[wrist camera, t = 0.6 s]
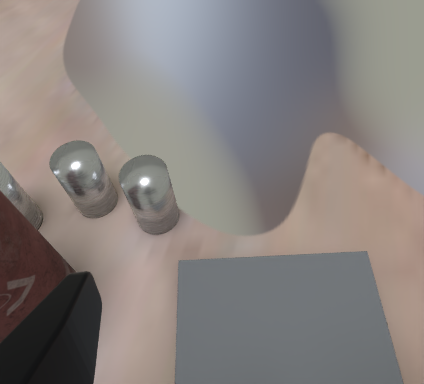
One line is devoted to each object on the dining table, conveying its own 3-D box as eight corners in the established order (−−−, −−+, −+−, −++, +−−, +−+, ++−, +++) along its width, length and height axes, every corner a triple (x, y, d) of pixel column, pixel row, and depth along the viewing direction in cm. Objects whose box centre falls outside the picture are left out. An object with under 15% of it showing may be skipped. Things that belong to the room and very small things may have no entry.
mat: (443, 548, 17) (449, 551, 16) (171, 552, 17) (169, 555, 17) (364, 255, 25) (366, 251, 24) (179, 264, 25) (178, 260, 25)
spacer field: (185, 222, 27) (172, 171, 22) (-134, 375, 23) (-240, 352, 18) (147, 152, 31) (128, 95, 26) (-132, 270, 27) (-217, 228, 22)
